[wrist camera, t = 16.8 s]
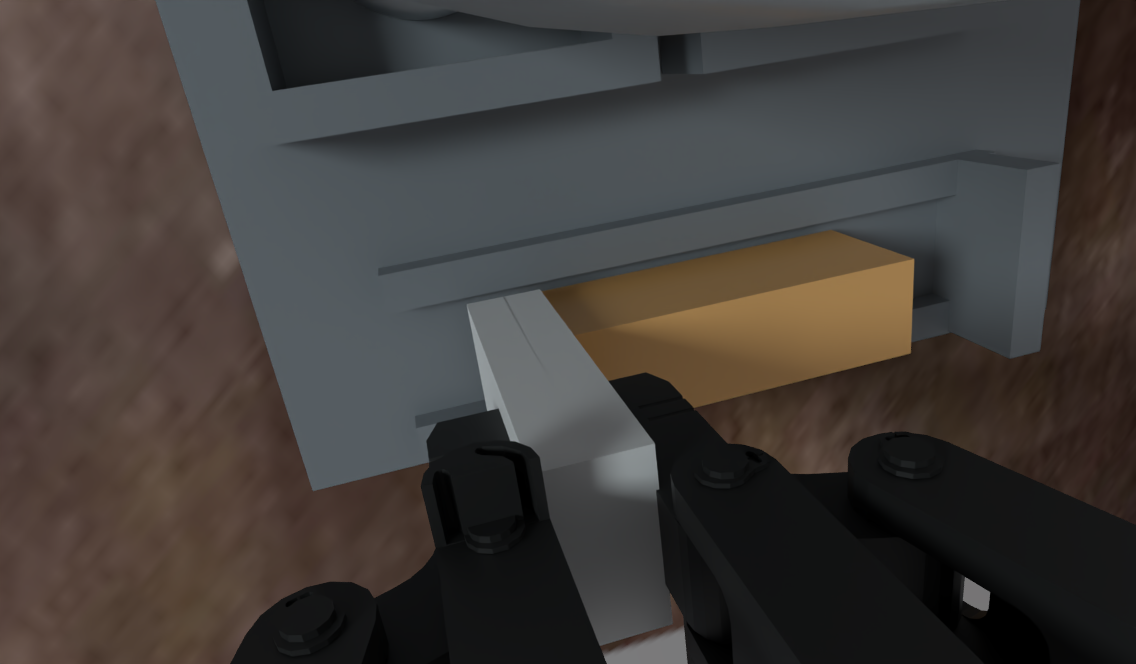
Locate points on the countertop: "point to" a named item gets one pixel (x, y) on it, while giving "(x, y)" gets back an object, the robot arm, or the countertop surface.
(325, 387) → the housing
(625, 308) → the bar
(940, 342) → the countertop surface
